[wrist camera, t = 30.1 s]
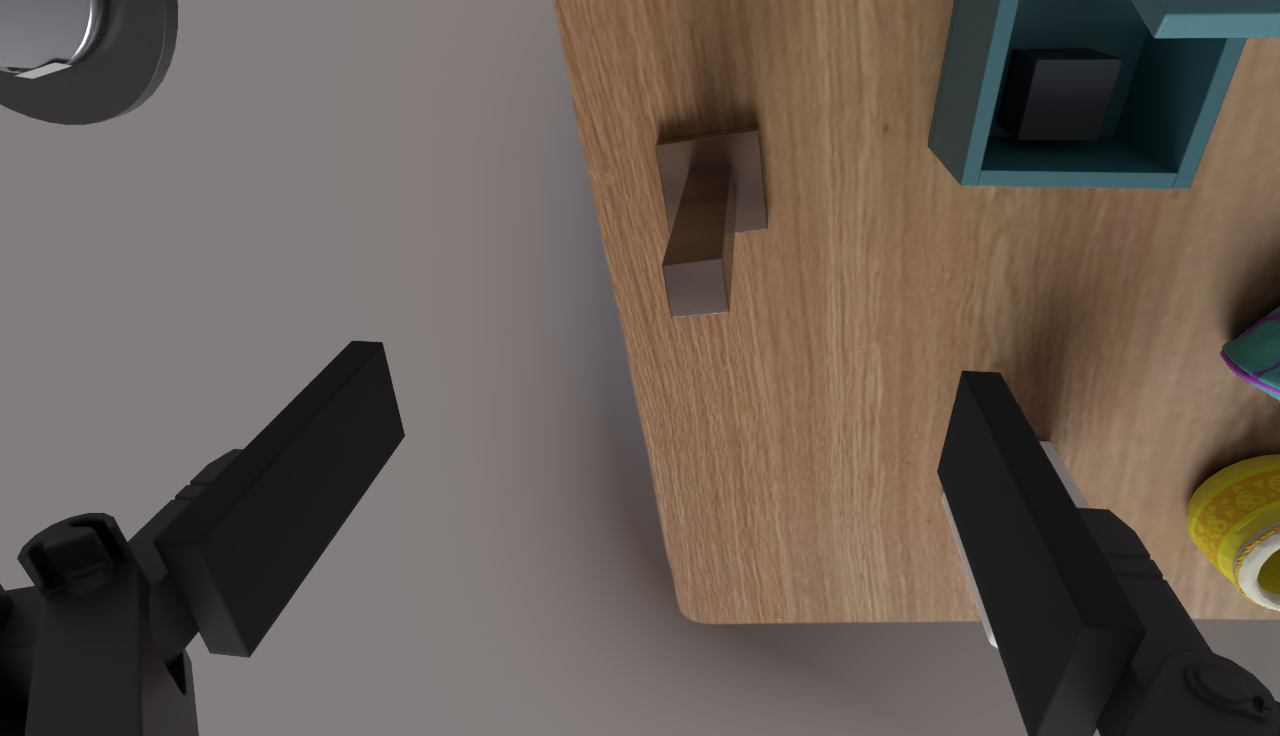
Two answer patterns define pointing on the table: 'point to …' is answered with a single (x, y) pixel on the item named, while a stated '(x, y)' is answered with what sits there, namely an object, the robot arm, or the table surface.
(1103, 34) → the chest
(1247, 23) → the lid
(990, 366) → the table surface
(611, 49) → the table surface
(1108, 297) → the table surface
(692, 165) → the post stand
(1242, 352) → the pencil case
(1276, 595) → the yellow pot
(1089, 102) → the block
